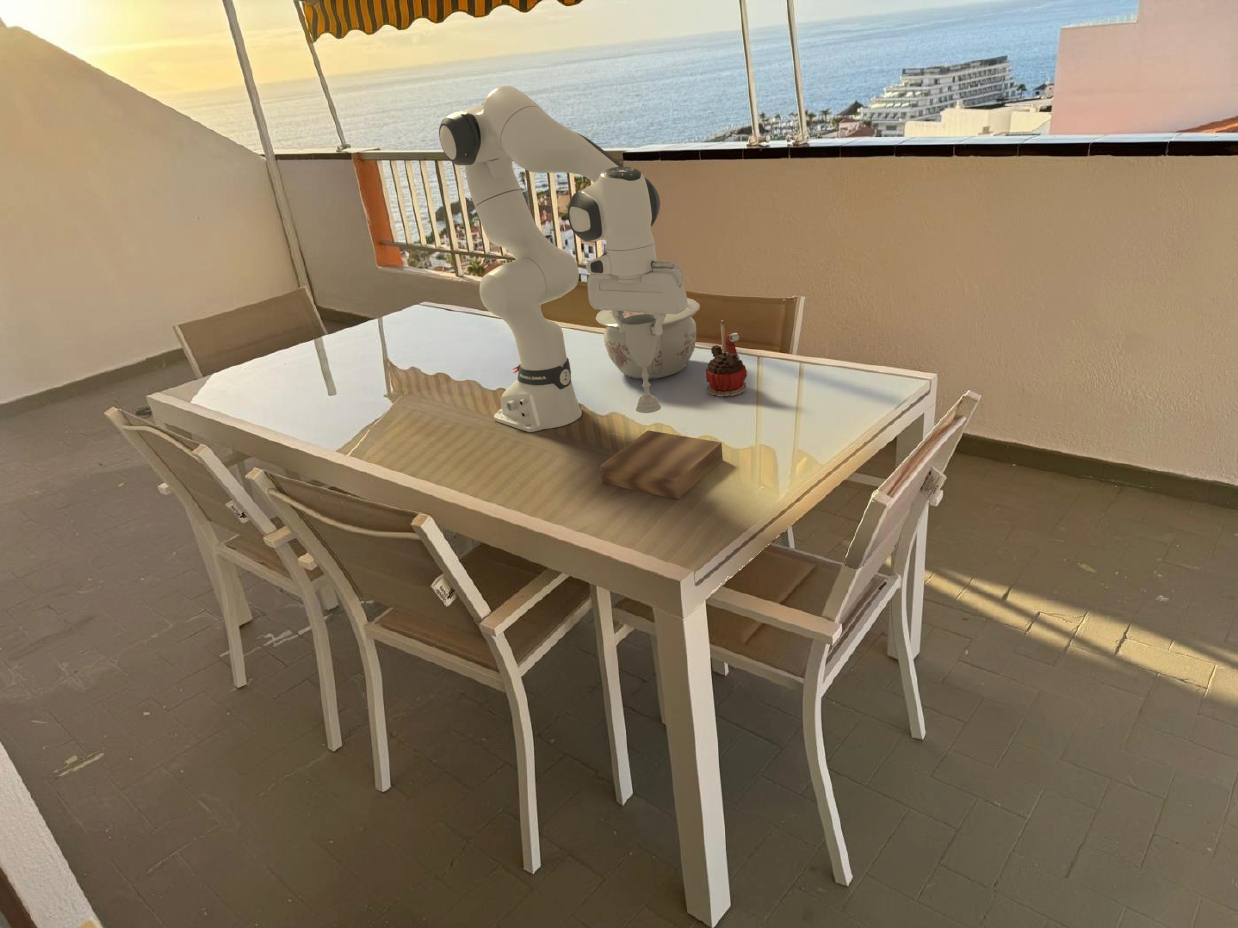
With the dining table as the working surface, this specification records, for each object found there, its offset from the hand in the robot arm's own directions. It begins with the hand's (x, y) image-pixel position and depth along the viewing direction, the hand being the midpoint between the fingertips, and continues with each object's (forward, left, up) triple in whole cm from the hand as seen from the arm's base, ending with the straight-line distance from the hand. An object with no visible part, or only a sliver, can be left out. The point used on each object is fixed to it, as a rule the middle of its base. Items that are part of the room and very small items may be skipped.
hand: (641, 333), depth 160 cm
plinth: (+1, +1, -30) cm, 30 cm away
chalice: (0, -1, -15) cm, 15 cm away
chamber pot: (-33, +51, -30) cm, 67 cm away
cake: (-7, +44, -30) cm, 53 cm away
